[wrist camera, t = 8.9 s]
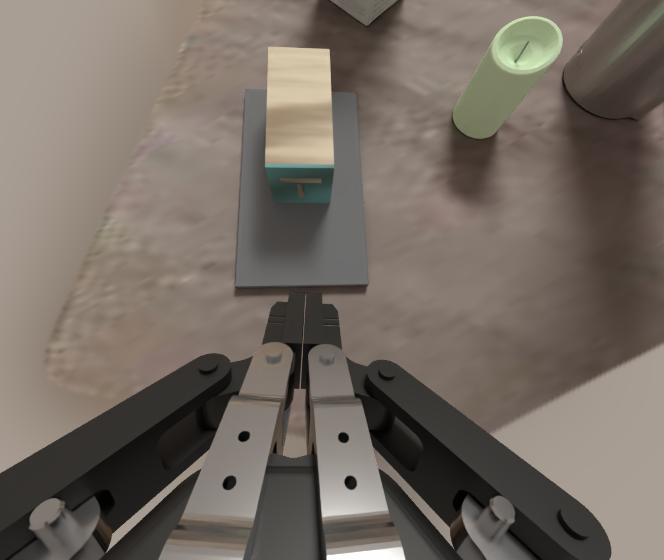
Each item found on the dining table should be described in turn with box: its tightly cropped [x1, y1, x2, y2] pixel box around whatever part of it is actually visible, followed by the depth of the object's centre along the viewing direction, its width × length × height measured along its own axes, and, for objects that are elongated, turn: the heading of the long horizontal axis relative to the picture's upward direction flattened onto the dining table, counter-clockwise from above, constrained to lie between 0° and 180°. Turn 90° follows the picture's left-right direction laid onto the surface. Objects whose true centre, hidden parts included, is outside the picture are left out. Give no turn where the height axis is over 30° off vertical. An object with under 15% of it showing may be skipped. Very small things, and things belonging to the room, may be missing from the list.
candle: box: [453, 16, 563, 139], centre depth 26 cm, size 5×5×8 cm
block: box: [265, 47, 334, 203], centre depth 25 cm, size 5×5×11 cm
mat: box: [235, 89, 369, 288], centre depth 27 cm, size 20×11×1 cm, turn 2°
